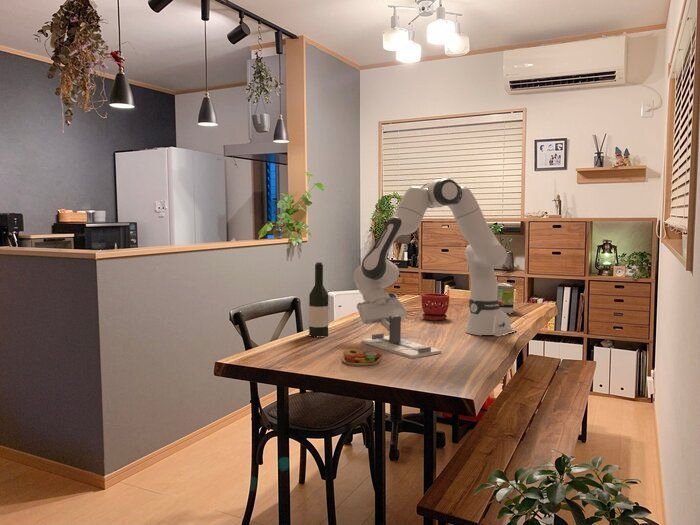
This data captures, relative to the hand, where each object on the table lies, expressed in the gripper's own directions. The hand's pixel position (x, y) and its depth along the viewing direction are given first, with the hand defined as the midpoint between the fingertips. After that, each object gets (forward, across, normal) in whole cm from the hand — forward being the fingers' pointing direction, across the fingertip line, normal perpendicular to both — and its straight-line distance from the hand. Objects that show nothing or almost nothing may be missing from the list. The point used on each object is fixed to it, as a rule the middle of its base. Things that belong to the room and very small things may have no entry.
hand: (391, 329), depth 213 cm
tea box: (-16, +95, +25) cm, 99 cm away
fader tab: (+5, 0, +2) cm, 5 cm away
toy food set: (+14, -24, -6) cm, 29 cm away
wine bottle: (-16, -15, +25) cm, 33 cm away
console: (+8, 0, 0) cm, 8 cm away
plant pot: (-18, +52, +27) cm, 61 cm away
